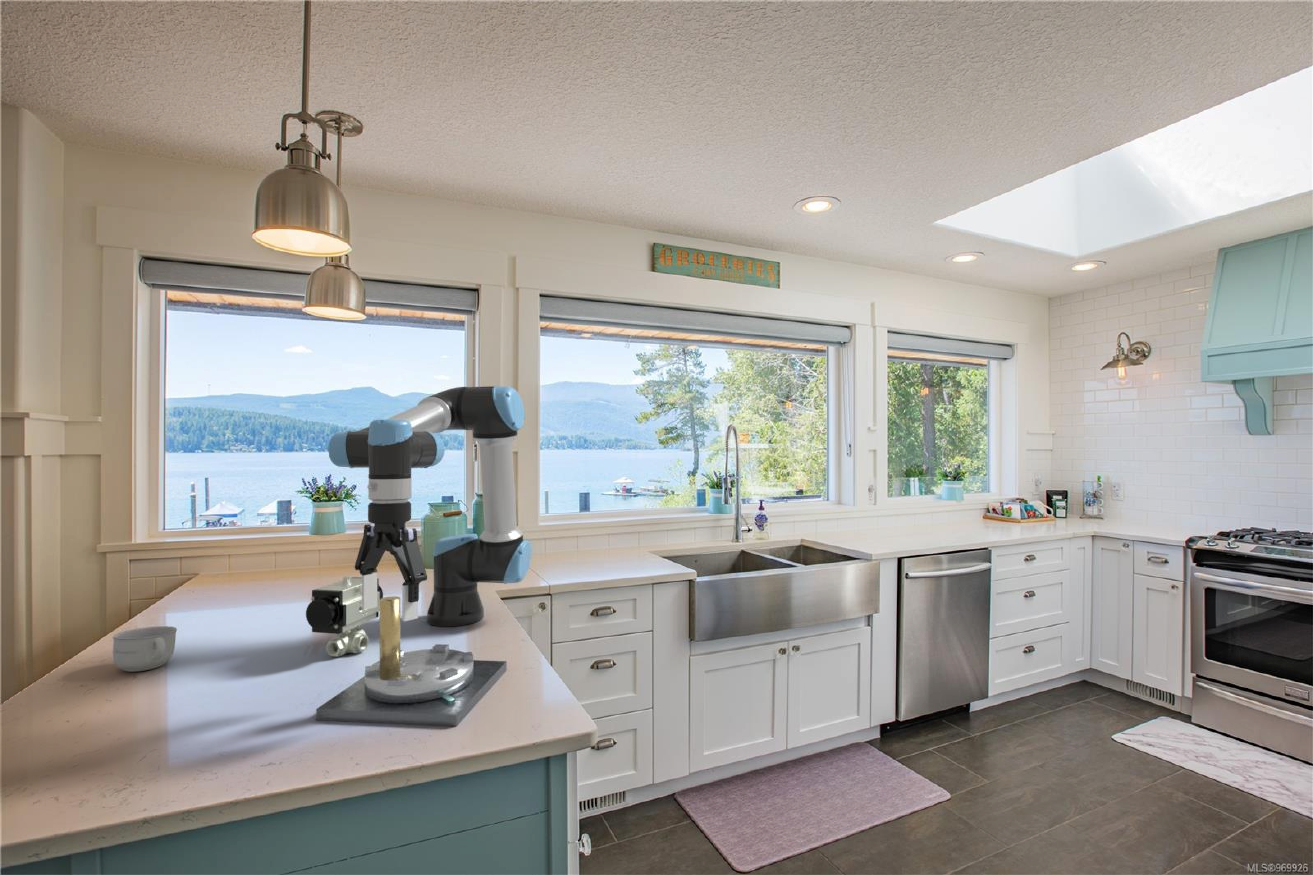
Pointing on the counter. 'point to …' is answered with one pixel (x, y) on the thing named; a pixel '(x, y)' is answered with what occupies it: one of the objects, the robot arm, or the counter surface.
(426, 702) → the base plate
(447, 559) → the robot arm
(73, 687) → the counter surface
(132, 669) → the teacup
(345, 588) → the ball valve
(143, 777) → the counter surface
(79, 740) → the counter surface
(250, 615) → the counter surface
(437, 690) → the silver tabbed disc
